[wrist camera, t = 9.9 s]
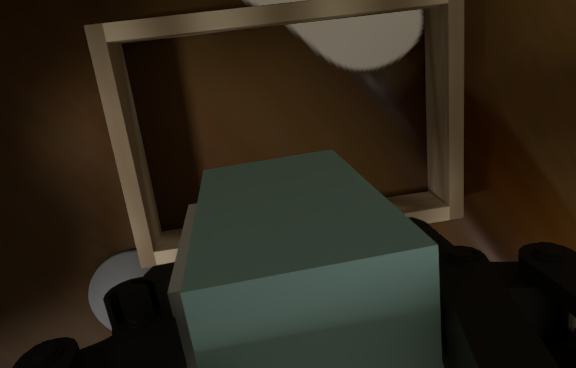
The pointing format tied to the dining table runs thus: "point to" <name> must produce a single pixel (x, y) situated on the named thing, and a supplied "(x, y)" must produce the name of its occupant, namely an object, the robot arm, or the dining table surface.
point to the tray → (319, 6)
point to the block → (308, 271)
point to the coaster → (112, 279)
